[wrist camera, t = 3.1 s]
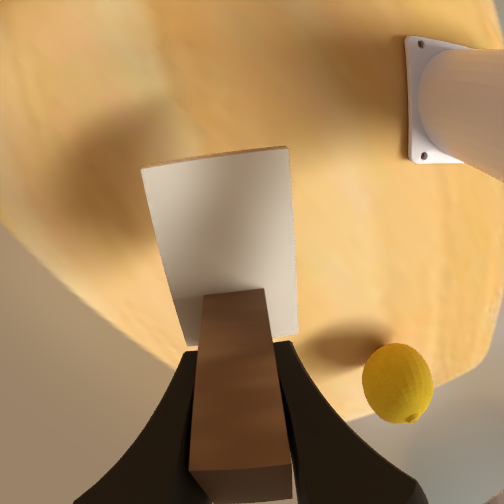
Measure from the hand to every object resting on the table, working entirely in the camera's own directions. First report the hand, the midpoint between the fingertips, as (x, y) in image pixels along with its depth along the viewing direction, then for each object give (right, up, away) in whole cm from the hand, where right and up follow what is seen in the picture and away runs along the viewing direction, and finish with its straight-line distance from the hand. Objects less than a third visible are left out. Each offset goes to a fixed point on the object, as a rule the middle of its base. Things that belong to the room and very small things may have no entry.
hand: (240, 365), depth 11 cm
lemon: (+12, -4, +15) cm, 19 cm away
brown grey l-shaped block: (0, +4, +2) cm, 4 cm away
